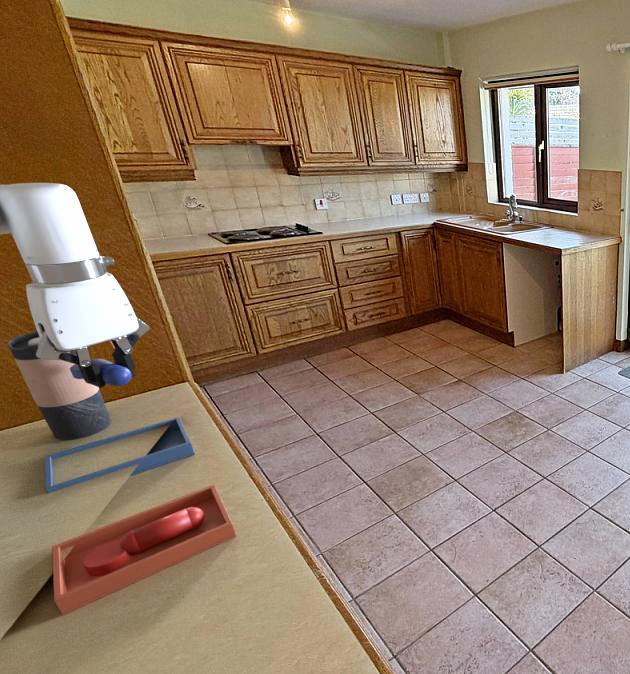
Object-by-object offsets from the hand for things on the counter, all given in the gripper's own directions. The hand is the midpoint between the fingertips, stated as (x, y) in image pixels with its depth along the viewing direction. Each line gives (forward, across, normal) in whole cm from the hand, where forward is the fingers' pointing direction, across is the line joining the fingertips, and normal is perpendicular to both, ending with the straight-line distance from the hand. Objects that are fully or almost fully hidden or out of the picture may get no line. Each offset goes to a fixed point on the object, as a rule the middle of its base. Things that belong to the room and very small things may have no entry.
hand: (112, 379), depth 77 cm
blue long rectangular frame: (+15, +2, -1) cm, 15 cm away
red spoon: (+15, +11, +24) cm, 30 cm away
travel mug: (+15, +1, -15) cm, 21 cm away
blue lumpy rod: (+1, 0, -2) cm, 3 cm away
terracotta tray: (+15, +11, +24) cm, 31 cm away
